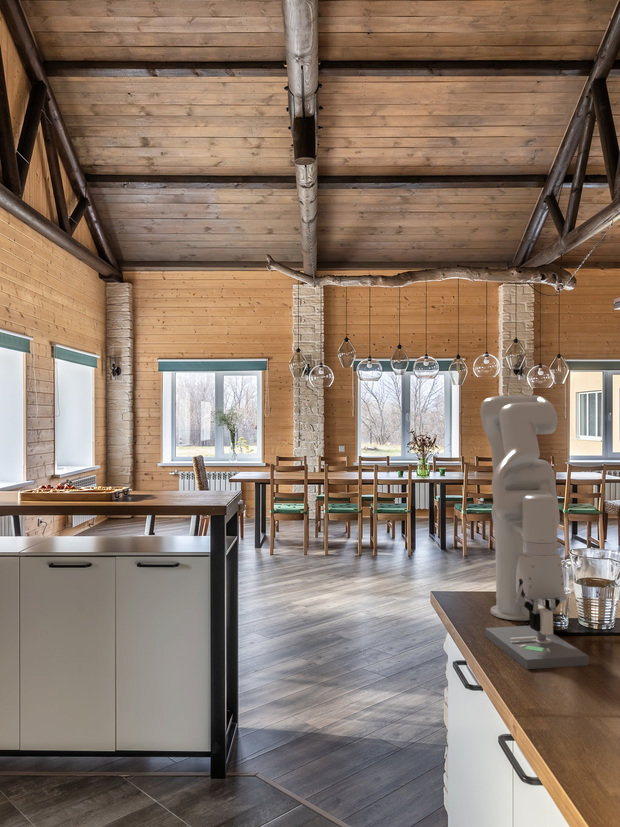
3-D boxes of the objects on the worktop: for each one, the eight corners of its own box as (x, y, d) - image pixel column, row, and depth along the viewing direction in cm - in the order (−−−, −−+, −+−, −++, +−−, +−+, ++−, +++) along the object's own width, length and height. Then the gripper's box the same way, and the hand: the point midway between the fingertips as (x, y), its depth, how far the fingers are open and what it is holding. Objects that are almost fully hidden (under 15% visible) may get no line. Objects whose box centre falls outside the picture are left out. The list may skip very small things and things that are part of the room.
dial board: (485, 636, 163) (485, 627, 163) (539, 633, 165) (539, 624, 165) (526, 669, 141) (526, 659, 141) (588, 665, 143) (588, 655, 143)
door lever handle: (504, 636, 155) (504, 606, 155) (539, 633, 156) (538, 604, 156) (517, 645, 149) (516, 614, 149) (553, 642, 150) (552, 611, 150)
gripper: (560, 543, 159) (562, 621, 159) (499, 547, 155) (501, 627, 155) (581, 549, 152) (582, 630, 151) (517, 553, 148) (519, 637, 147)
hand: (541, 628), depth 153 cm, fingers closed on door lever handle, 2 cm apart
